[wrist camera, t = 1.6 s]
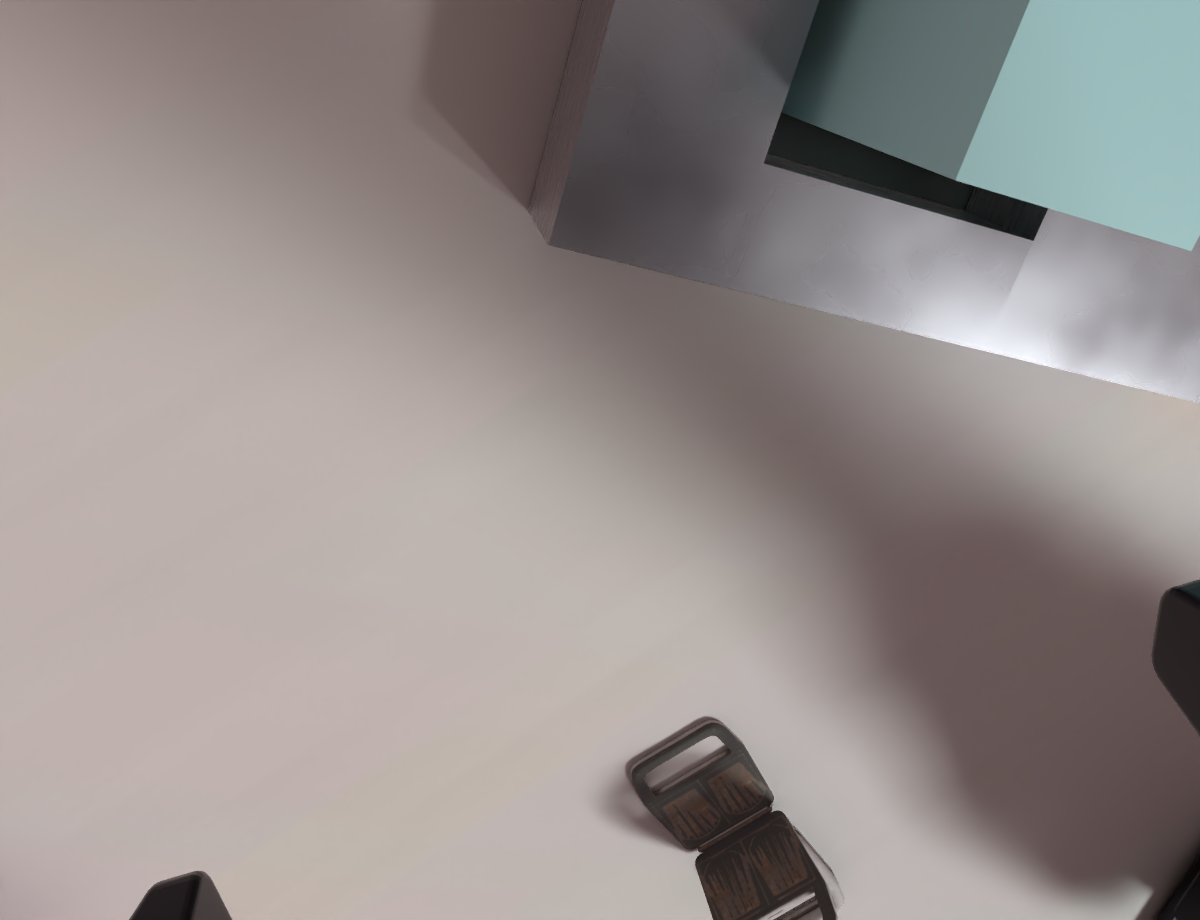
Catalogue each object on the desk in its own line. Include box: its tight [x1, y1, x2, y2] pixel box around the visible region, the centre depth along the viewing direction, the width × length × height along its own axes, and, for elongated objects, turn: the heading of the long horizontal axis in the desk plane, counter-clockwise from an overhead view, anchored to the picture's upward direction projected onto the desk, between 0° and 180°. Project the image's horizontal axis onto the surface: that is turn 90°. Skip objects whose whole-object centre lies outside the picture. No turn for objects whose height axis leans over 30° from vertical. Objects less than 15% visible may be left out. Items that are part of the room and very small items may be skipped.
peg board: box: [528, 0, 1200, 403], centre depth 20 cm, size 24×10×3 cm, turn 74°
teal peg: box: [781, 0, 1200, 251], centre depth 16 cm, size 4×4×7 cm
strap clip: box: [630, 720, 844, 920], centre depth 26 cm, size 8×3×4 cm, turn 30°
